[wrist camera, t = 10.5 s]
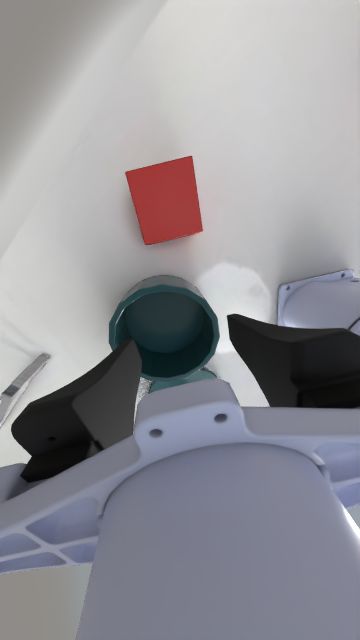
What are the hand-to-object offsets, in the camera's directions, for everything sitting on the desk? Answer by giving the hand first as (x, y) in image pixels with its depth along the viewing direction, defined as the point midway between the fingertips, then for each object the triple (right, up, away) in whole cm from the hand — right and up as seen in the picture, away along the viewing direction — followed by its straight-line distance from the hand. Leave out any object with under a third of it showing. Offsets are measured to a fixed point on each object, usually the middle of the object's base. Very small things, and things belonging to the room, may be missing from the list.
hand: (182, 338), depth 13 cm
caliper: (-25, -10, +13) cm, 30 cm away
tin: (-2, +2, +10) cm, 10 cm away
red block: (-2, +12, +5) cm, 14 cm away
